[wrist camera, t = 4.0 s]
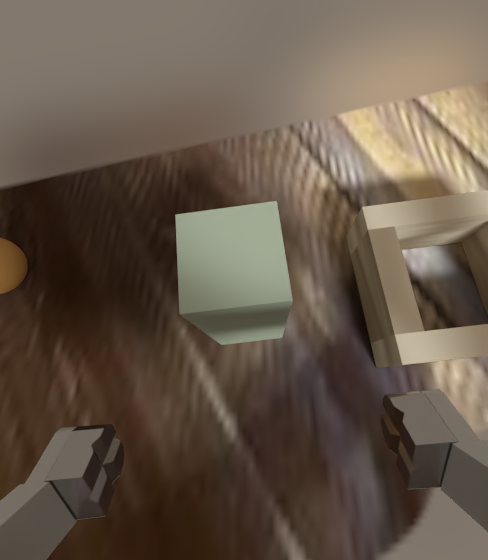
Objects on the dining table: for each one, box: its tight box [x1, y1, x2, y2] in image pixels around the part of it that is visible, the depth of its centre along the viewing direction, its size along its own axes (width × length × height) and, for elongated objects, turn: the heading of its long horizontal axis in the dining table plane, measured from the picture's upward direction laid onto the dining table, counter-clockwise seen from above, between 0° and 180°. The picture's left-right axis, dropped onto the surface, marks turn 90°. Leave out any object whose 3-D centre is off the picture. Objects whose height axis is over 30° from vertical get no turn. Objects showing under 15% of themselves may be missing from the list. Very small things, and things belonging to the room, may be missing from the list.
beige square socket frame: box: [346, 190, 488, 368], centre depth 19 cm, size 9×9×4 cm
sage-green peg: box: [175, 201, 293, 345], centre depth 16 cm, size 4×4×10 cm
